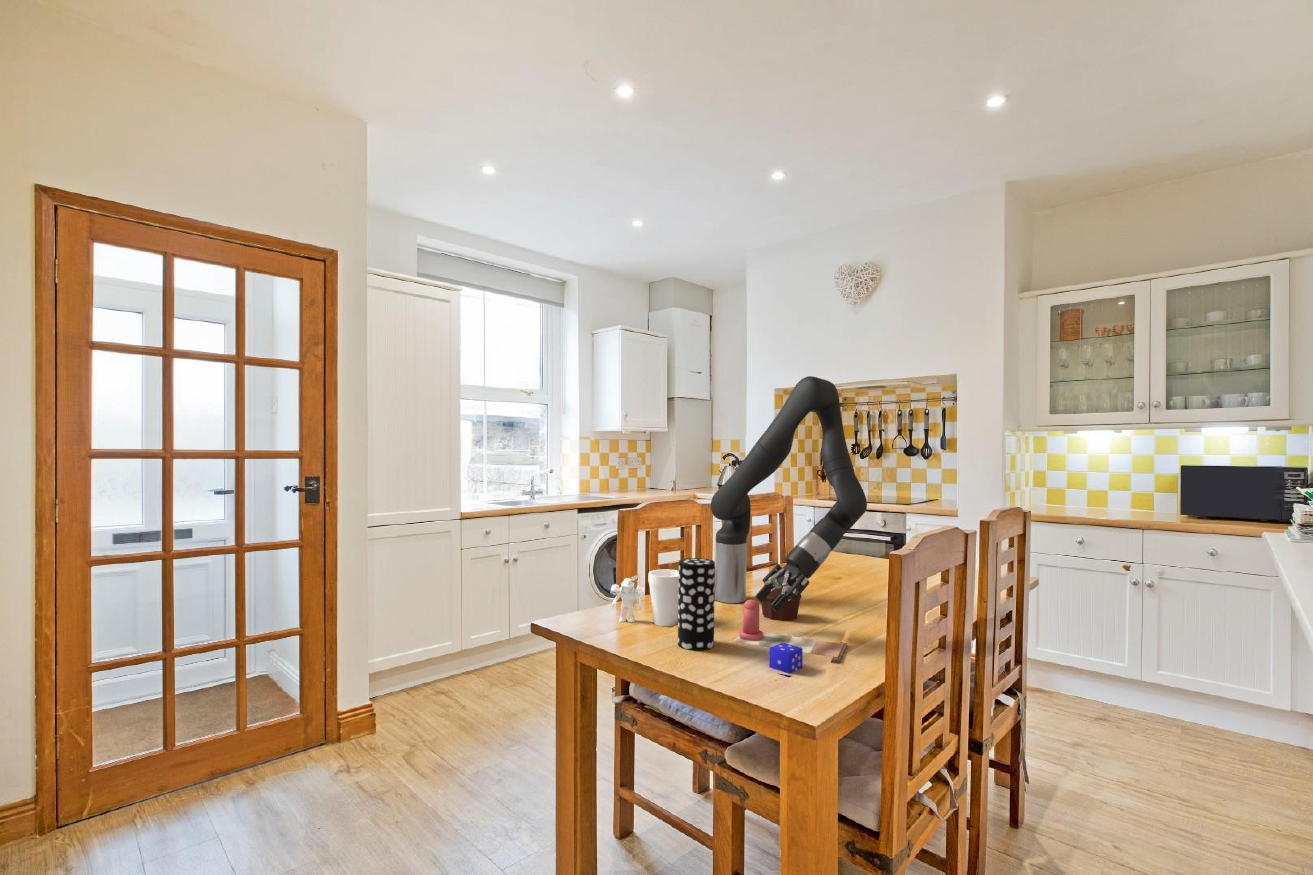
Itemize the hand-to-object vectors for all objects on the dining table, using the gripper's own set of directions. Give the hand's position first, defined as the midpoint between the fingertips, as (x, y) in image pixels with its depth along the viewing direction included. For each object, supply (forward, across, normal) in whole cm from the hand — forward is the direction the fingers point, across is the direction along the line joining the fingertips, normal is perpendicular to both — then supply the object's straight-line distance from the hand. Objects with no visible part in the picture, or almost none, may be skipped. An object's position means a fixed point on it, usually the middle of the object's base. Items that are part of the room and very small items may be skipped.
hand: (765, 604), depth 153 cm
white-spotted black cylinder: (+19, +2, -7) cm, 20 cm away
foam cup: (+20, -19, -8) cm, 28 cm away
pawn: (+8, 0, +3) cm, 8 cm away
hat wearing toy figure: (+27, -23, -14) cm, 38 cm away
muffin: (-2, -15, +14) cm, 21 cm away
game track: (+4, +6, +8) cm, 11 cm away
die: (+10, +20, +3) cm, 22 cm away
